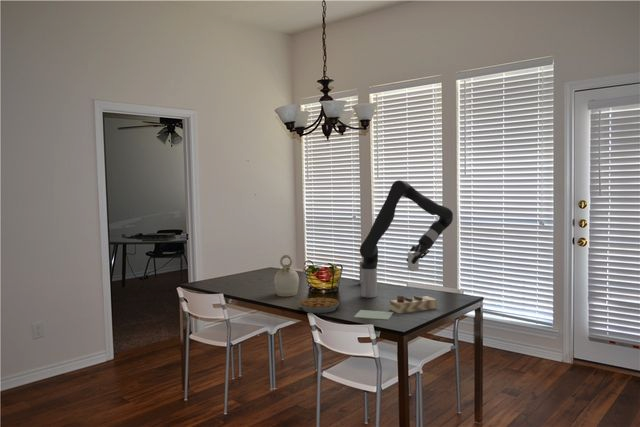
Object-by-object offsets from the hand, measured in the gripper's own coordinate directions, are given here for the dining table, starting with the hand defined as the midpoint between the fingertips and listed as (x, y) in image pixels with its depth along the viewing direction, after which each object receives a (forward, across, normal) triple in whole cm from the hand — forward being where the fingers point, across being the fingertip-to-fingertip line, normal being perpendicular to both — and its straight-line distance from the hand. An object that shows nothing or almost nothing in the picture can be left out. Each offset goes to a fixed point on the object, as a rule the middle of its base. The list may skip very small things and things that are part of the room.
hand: (410, 262), depth 274 cm
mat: (+35, +2, +2) cm, 35 cm away
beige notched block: (+17, 0, +20) cm, 26 cm away
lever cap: (+2, 0, +5) cm, 5 cm away
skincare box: (+11, -71, +26) cm, 76 cm away
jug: (+53, -65, -16) cm, 86 cm away
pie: (+50, -24, -12) cm, 56 cm away
